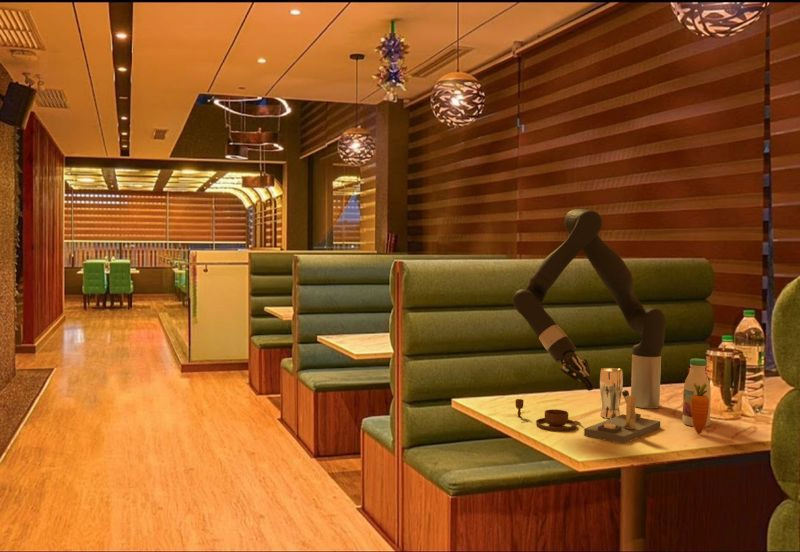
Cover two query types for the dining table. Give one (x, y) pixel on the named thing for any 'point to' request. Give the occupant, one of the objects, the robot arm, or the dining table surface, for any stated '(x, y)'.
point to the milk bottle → (698, 377)
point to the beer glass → (611, 391)
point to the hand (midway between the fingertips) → (592, 388)
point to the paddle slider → (630, 413)
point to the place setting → (552, 419)
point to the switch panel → (622, 429)
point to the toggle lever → (626, 394)
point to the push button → (610, 426)
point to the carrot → (699, 408)
